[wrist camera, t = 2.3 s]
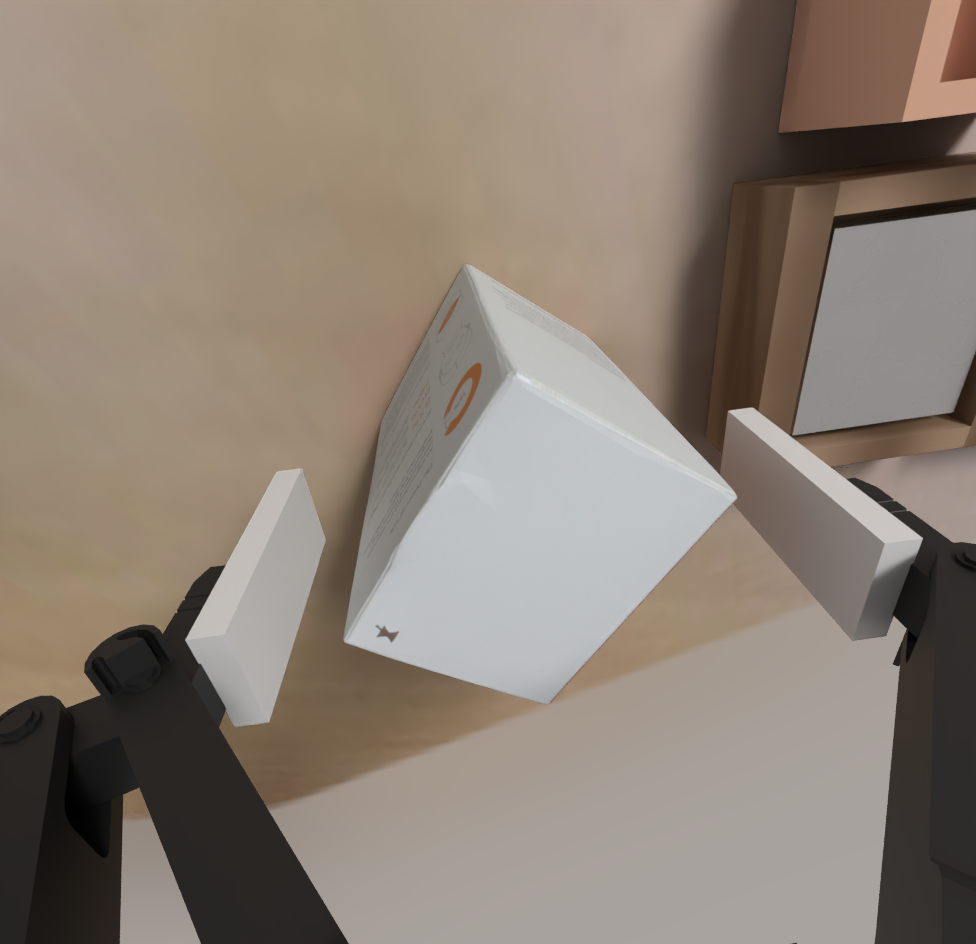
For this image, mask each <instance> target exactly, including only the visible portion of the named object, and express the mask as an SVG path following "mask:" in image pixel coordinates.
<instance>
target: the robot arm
mask: <svg viewBox="0 0 976 944" xmlns="http://www.w3.org/2000/svg"><path fill="white" fill-rule="evenodd" d="M720 476H721V477H722V478H723V479H724V480H725V481H726V483H727V484H728V485H729V486H730V487H731V488H732V489H733V490H734V492H735V494H736V495H737V500H736V501H735V502H734V503H733V504H734V505H735V506H736V508H737V509H738V510H739V511H740V512H741V513H742V514H743V516H744V517H745V518H746V519H747V520H748V521H749V523H750V524H751V525H752V526H753V527H754V528H755V529H756V531H757V532H758V533H759V534H760V535H761V536H762V537H763V539H764V540H765V541H766V542H767V543H768V544H769V546H770V547H771V548H772V549H773V550H774V551H775V552H776V554H777V555H778V556H779V557H780V558H781V559H782V560H783V562H784V563H785V564H786V565H787V566H788V567H789V569H790V570H791V571H792V572H793V573H794V574H795V575H796V577H797V578H798V579H799V580H800V581H801V582H802V583H803V585H804V586H805V587H806V588H807V589H808V590H809V592H810V593H811V594H812V595H813V596H814V597H815V598H816V600H817V601H818V602H819V603H820V604H821V605H822V606H823V608H824V609H825V610H826V611H827V612H828V613H829V615H830V616H831V617H832V618H833V619H834V620H835V621H836V623H837V624H838V625H839V626H840V627H841V628H842V629H843V630H844V632H845V633H846V634H847V635H848V636H849V638H850V639H851V640H852V641H854V640H862V639H869V638H876V637H883V636H886V635H887V632H888V629H889V627H890V624H891V621H892V619H893V616H895V617H896V618H897V619H898V620H899V621H900V622H901V623H902V624H903V625H904V626H905V627H906V628H907V630H906V633H905V635H904V638H903V640H902V642H901V645H900V647H899V650H898V652H897V655H896V657H895V660H894V662H893V665H896V666H899V665H900V672H899V683H898V693H897V704H896V716H895V728H894V738H893V750H892V760H891V772H890V783H889V793H888V805H887V816H886V827H885V838H884V850H883V860H882V872H881V883H880V894H879V905H878V917H877V928H876V937H875V944H976V544H971V543H964V542H959V543H953V542H951V541H950V540H949V539H947V538H946V537H944V536H943V535H942V534H940V533H939V532H938V531H936V530H935V529H933V528H932V527H931V526H929V525H928V524H927V523H925V522H924V521H923V520H921V519H920V518H918V517H917V516H916V515H914V514H913V513H912V512H910V511H907V510H906V508H905V507H903V506H902V505H901V504H899V503H898V502H897V501H895V502H894V501H893V498H891V497H890V496H888V495H887V494H886V493H884V492H883V491H882V490H880V489H879V488H877V487H875V486H873V485H871V484H868V483H866V482H864V481H861V480H859V479H857V478H850V479H845V478H844V477H843V476H841V475H840V474H839V473H837V472H836V471H835V470H833V469H832V468H831V467H830V466H828V465H827V464H826V463H824V462H823V461H822V460H820V459H819V458H818V457H817V456H815V455H814V454H813V453H811V452H810V451H809V450H807V449H806V448H805V447H804V446H802V445H801V444H800V443H798V442H797V441H796V440H794V439H793V438H792V437H791V436H789V435H788V434H787V433H785V432H784V431H783V430H781V429H780V428H779V427H777V426H776V425H775V424H774V423H772V422H771V421H770V420H768V419H767V418H766V417H764V416H763V415H762V414H761V413H759V412H758V411H757V410H755V409H754V408H753V407H752V408H744V409H737V410H729V411H728V414H727V422H726V430H725V438H724V446H723V454H722V461H721V469H720ZM325 541H326V539H325V536H324V533H323V530H322V527H321V524H320V521H319V518H318V515H317V512H316V509H315V506H314V503H313V500H312V497H311V494H310V491H309V488H308V485H307V482H306V479H305V476H304V473H303V470H302V468H300V469H293V470H285V471H278V472H276V474H275V476H274V478H273V479H272V481H271V483H270V485H269V487H268V489H267V490H266V492H265V494H264V496H263V498H262V500H261V502H260V503H259V505H258V507H257V509H256V511H255V513H254V514H253V516H252V518H251V520H250V522H249V524H248V525H247V527H246V529H245V531H244V533H243V535H242V536H241V538H240V540H239V542H238V544H237V546H236V548H235V549H234V551H233V553H232V555H231V557H230V559H229V560H228V562H227V564H226V565H223V566H216V567H210V568H209V569H208V570H207V571H206V572H204V573H203V574H202V575H201V576H200V577H199V578H198V579H197V580H196V581H195V582H194V583H193V585H192V586H191V588H190V590H189V591H188V593H187V595H186V596H185V600H183V601H182V603H181V605H180V606H179V608H178V610H177V611H178V612H177V613H175V615H174V616H173V618H172V620H171V621H170V623H169V625H168V626H167V628H166V630H165V631H164V633H163V634H162V633H161V631H160V630H159V629H158V628H156V627H155V626H154V625H139V626H134V627H129V628H127V629H125V630H123V631H120V632H118V633H116V634H114V635H112V636H111V637H109V638H108V639H106V640H105V641H103V642H102V643H101V644H100V645H99V646H98V647H97V648H96V649H95V650H94V651H92V652H91V654H90V655H89V657H88V659H87V661H86V662H85V669H84V673H85V674H86V675H87V677H88V678H89V679H90V681H91V682H92V683H93V685H94V686H95V687H96V689H97V690H98V692H99V693H100V694H101V695H100V696H97V697H95V698H92V699H89V700H87V701H84V702H81V703H79V704H76V705H73V706H71V707H68V708H65V706H64V705H63V704H62V703H61V701H60V700H59V699H57V698H55V697H53V696H38V697H35V698H32V699H29V700H26V701H24V702H22V703H20V704H18V705H16V706H14V707H12V708H11V709H9V710H8V711H6V712H5V713H4V714H2V715H1V716H0V944H120V906H121V864H122V862H121V861H122V821H123V794H125V793H128V792H130V791H132V790H135V789H137V788H139V787H140V790H141V792H142V795H143V797H144V800H145V803H146V805H147V808H148V810H149V813H150V815H151V818H152V820H153V823H154V825H155V828H156V830H157V833H158V836H159V838H160V841H161V843H162V846H163V848H164V851H165V853H166V856H167V858H168V861H169V864H170V866H171V869H172V871H173V874H174V876H175V879H176V881H177V884H178V886H179V889H180V891H181V894H182V897H183V899H184V902H185V904H186V907H187V909H188V912H189V914H190V917H191V919H192V922H193V924H194V927H195V929H196V932H197V935H198V937H199V940H200V942H201V944H348V942H347V940H346V938H345V937H344V935H343V933H342V932H341V930H340V929H339V927H338V925H337V924H336V922H335V920H334V919H333V917H332V915H331V914H330V912H329V910H328V909H327V907H326V905H325V904H324V902H323V900H322V899H321V897H320V895H319V894H318V892H317V890H316V889H315V887H314V885H313V884H312V882H311V881H310V879H309V877H308V875H307V874H306V872H305V871H304V869H303V867H302V866H301V864H300V862H299V861H298V859H297V857H296V855H295V854H294V852H293V850H292V849H291V847H290V845H289V844H288V842H287V841H286V839H285V837H284V836H283V834H282V832H281V831H280V829H279V827H278V826H277V824H276V822H275V821H274V819H273V817H272V816H271V814H270V812H269V811H268V809H267V807H266V806H265V804H264V802H263V801H262V799H261V797H260V796H259V794H258V792H257V791H256V789H255V787H254V786H253V784H252V782H251V781H250V779H249V777H248V776H247V774H246V772H245V771H244V769H243V767H242V766H241V764H240V762H239V761H238V759H237V757H236V756H235V754H234V752H233V751H232V749H231V748H230V746H229V744H228V743H227V741H226V739H225V738H224V736H223V734H222V733H221V731H220V729H219V726H220V723H221V721H222V718H223V716H224V713H225V711H226V713H227V714H228V716H229V718H230V720H231V721H232V723H233V725H234V727H239V726H247V725H254V724H261V723H268V722H269V721H270V718H271V715H272V712H273V709H274V705H275V702H276V699H277V696H278V692H279V689H280V686H281V683H282V680H283V676H284V673H285V670H286V667H287V664H288V660H289V657H290V654H291V651H292V647H293V644H294V641H295V638H296V635H297V631H298V628H299V625H300V622H301V619H302V615H303V612H304V609H305V606H306V602H307V599H308V596H309V593H310V590H311V586H312V583H313V580H314V577H315V574H316V570H317V567H318V564H319V561H320V557H321V554H322V551H323V548H324V545H325ZM793 944H797V943H793Z"/></svg>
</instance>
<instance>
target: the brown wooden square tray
mask: <svg viewBox="0 0 976 944" xmlns="http://www.w3.org/2000/svg"><path fill="white" fill-rule="evenodd" d="M969 204H976V152H971V153H963V154H955V155H948V156H940V157H933V158H925V159H918V160H910V161H903V162H895V163H887V164H880V165H872V166H865V167H857V168H850V169H842V170H835V171H827V172H819V173H812V174H804V175H797V176H789V177H782V178H774V179H767V180H759V181H751V182H744V183H736V184H734V185H733V194H732V203H731V212H730V221H729V230H728V239H727V248H726V257H725V266H724V275H723V284H722V293H721V302H720V311H719V320H718V329H717V337H716V346H715V355H714V364H713V373H712V382H711V391H710V400H709V409H708V418H707V427H706V436H705V437H706V438H707V439H708V440H709V441H710V442H711V443H712V444H713V445H714V446H715V447H716V448H717V449H718V450H719V451H720V452H721V453H722V454H723V446H724V438H725V430H726V422H727V414H728V411H729V410H737V409H744V408H752V407H753V408H754V409H755V410H757V411H758V412H759V413H761V414H762V415H763V416H764V417H766V418H767V419H768V420H770V421H771V422H772V423H774V424H775V425H776V426H777V427H779V428H780V429H781V430H783V431H784V432H785V433H787V434H788V435H789V436H791V437H792V438H793V439H794V440H796V441H797V442H798V443H800V444H801V445H802V446H804V447H805V448H806V449H807V450H809V451H810V452H811V453H813V454H814V455H815V456H817V457H818V458H819V459H820V460H822V461H823V462H824V463H826V464H827V465H828V466H830V467H831V466H838V465H845V464H852V463H859V462H866V461H872V460H879V459H886V458H893V457H900V456H907V455H913V454H920V453H927V452H934V451H941V450H947V449H954V448H961V447H968V446H975V445H976V352H975V355H974V358H973V360H972V363H971V366H970V369H969V371H968V374H967V377H966V379H965V382H964V385H963V387H962V390H961V393H960V396H959V398H958V401H957V404H956V406H955V409H954V412H952V413H945V414H938V415H931V416H924V417H917V418H910V419H903V420H896V421H890V422H883V423H876V424H869V425H862V426H855V427H848V428H841V429H834V430H827V431H820V432H814V433H807V434H800V435H793V436H792V435H791V434H790V430H791V425H792V421H793V416H794V411H795V406H796V401H797V396H798V391H799V386H800V381H801V376H802V371H803V366H804V361H805V356H806V351H807V346H808V341H809V336H810V331H811V327H812V322H813V317H814V312H815V307H816V302H817V297H818V292H819V287H820V282H821V277H822V272H823V267H824V262H825V257H826V252H827V247H828V242H829V238H830V233H831V228H832V223H835V222H843V221H850V220H857V219H865V218H872V217H880V216H887V215H894V214H902V213H909V212H917V211H924V210H932V209H939V208H946V207H954V206H961V205H969Z"/></svg>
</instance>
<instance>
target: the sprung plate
mask: <svg viewBox="0 0 976 944" xmlns="http://www.w3.org/2000/svg"><path fill="white" fill-rule="evenodd" d="M975 352H976V204H969V205H961V206H954V207H946V208H939V209H932V210H924V211H917V212H909V213H902V214H894V215H887V216H880V217H872V218H865V219H857V220H850V221H843V222H835V223H832V228H831V233H830V238H829V242H828V247H827V252H826V257H825V262H824V267H823V272H822V277H821V282H820V287H819V292H818V297H817V302H816V307H815V312H814V317H813V322H812V327H811V331H810V336H809V341H808V346H807V351H806V356H805V361H804V366H803V371H802V376H801V381H800V386H799V391H798V396H797V401H796V406H795V411H794V416H793V421H792V425H791V430H790V434H791V435H792V436H793V435H800V434H807V433H814V432H820V431H827V430H834V429H841V428H848V427H855V426H862V425H869V424H876V423H883V422H890V421H896V420H903V419H910V418H917V417H924V416H931V415H938V414H945V413H952V412H954V409H955V406H956V404H957V401H958V398H959V396H960V393H961V390H962V387H963V385H964V382H965V379H966V377H967V374H968V371H969V369H970V366H971V363H972V360H973V358H974V355H975Z"/></svg>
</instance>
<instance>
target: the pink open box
mask: <svg viewBox="0 0 976 944" xmlns="http://www.w3.org/2000/svg"><path fill="white" fill-rule="evenodd" d="M968 113H976V0H797V5H796V12H795V19H794V26H793V33H792V40H791V47H790V54H789V61H788V68H787V75H786V82H785V89H784V96H783V103H782V110H781V117H780V124H779V131H778V133H784V132H795V131H806V130H818V129H829V128H841V127H852V126H863V125H875V124H886V123H898V122H907V121H914V120H922V119H930V118H937V117H945V116H953V115H960V114H968Z"/></svg>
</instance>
